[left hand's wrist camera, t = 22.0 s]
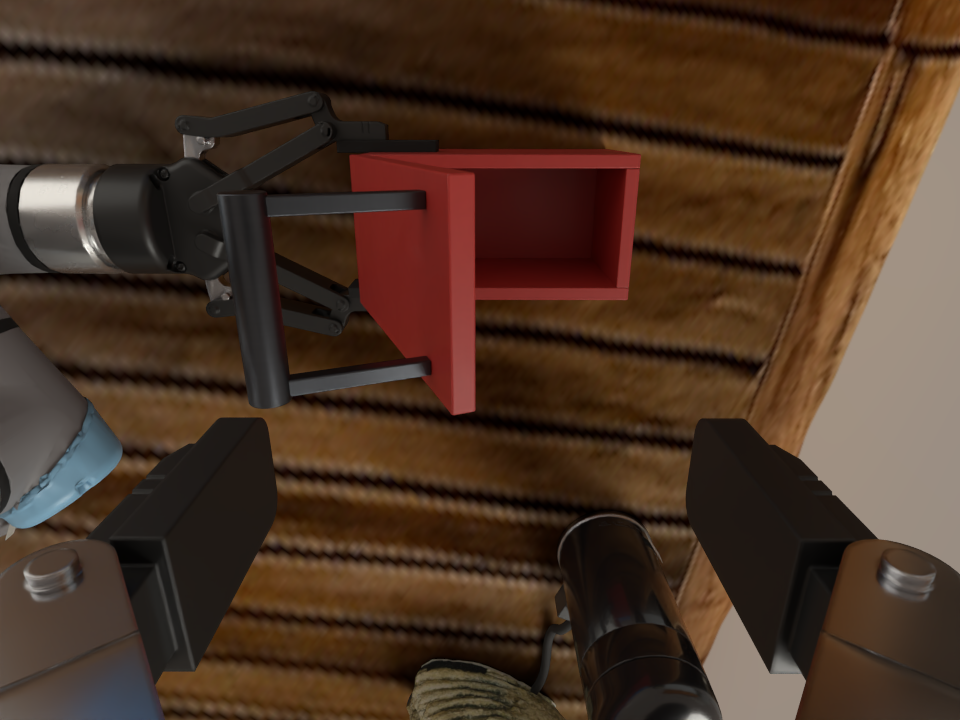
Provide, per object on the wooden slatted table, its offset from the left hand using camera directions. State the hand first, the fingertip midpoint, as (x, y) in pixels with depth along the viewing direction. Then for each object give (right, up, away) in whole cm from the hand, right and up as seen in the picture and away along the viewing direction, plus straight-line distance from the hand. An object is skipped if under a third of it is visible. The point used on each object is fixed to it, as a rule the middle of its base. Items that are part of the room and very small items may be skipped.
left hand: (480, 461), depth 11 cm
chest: (+1, +14, +37) cm, 39 cm away
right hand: (-3, +12, +31) cm, 33 cm away
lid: (-3, +7, +19) cm, 20 cm away
